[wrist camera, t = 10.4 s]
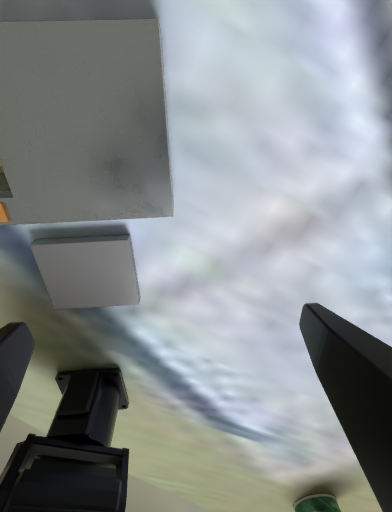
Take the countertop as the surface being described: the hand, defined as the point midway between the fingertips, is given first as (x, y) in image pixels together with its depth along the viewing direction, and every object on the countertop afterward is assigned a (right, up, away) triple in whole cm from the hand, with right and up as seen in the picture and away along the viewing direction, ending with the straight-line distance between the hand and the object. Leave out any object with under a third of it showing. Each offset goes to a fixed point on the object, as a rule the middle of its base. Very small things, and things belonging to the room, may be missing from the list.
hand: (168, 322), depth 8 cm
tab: (-8, +1, +13) cm, 15 cm away
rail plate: (-9, +10, +8) cm, 16 cm away
